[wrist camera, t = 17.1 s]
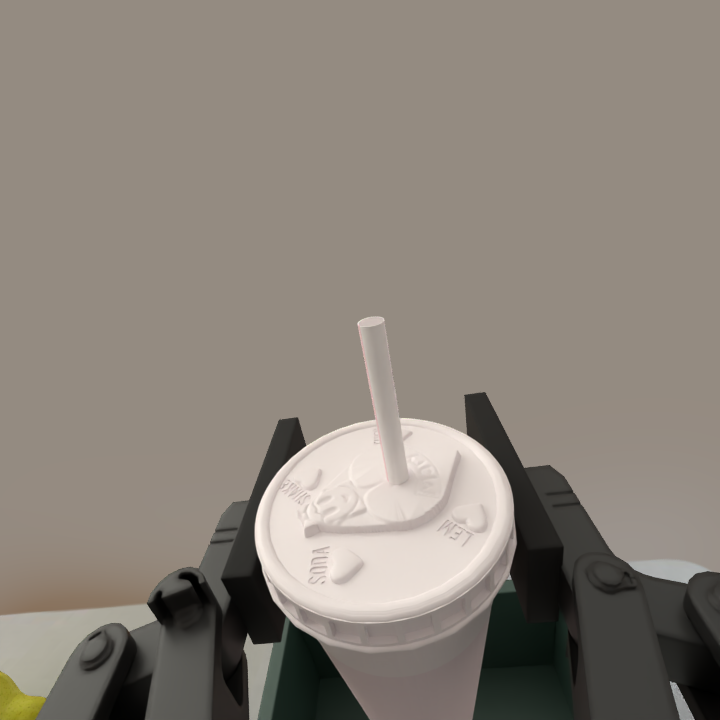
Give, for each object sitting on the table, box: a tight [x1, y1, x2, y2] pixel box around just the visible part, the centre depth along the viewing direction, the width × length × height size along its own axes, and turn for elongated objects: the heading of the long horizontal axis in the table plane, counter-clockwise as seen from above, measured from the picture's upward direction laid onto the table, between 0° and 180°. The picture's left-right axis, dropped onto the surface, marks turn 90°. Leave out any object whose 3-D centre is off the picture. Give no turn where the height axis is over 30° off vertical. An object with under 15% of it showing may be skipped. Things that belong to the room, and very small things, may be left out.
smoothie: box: [255, 317, 517, 720], centre depth 11 cm, size 6×6×14 cm
